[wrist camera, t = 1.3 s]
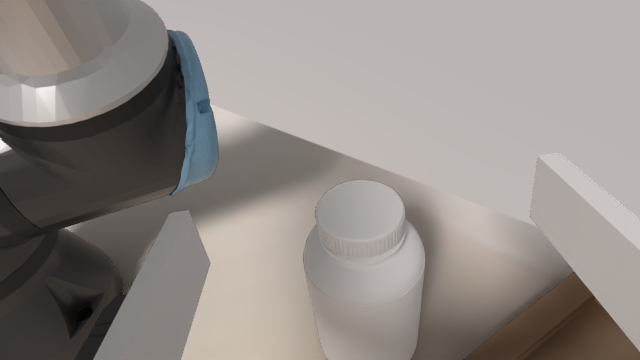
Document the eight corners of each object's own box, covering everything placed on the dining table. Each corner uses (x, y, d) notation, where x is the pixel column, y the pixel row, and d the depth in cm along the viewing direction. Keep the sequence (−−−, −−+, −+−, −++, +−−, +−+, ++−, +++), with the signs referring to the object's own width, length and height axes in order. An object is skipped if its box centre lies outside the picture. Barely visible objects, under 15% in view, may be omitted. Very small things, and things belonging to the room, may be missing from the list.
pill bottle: (305, 316, 35) (276, 189, 25) (385, 282, 37) (387, 151, 27) (344, 405, 29) (325, 284, 20) (437, 359, 31) (462, 227, 21)
